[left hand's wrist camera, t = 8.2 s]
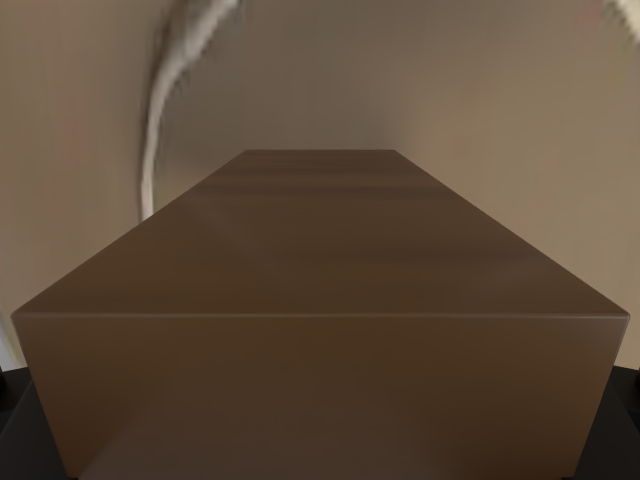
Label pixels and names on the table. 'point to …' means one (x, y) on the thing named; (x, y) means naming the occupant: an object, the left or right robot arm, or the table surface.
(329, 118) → the table surface
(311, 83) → the table surface
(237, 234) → the box
